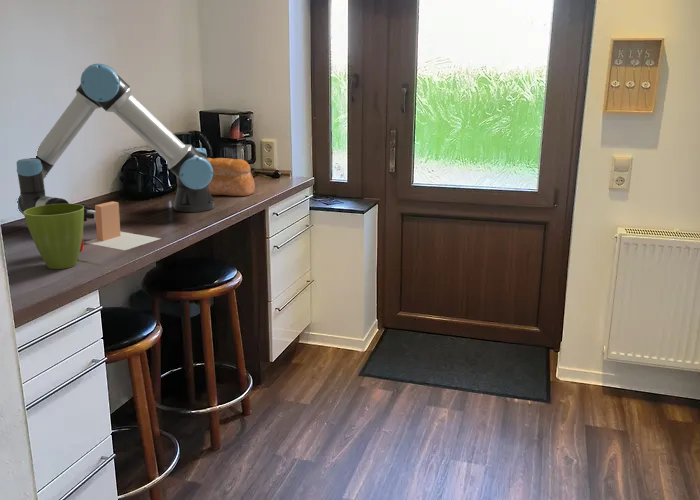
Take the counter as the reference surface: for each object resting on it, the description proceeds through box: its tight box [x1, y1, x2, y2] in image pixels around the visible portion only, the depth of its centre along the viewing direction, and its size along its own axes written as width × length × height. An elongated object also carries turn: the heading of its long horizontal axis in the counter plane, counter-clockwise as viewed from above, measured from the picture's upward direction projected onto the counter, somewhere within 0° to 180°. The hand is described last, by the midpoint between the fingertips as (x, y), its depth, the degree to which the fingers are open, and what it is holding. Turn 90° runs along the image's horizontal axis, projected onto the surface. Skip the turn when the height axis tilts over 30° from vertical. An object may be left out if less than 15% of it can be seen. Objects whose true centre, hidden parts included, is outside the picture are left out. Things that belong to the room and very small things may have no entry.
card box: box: [94, 201, 121, 241], centre depth 201 cm, size 7×3×11 cm, turn 151°
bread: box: [207, 157, 256, 197], centre depth 274 cm, size 14×26×15 cm, turn 77°
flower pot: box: [23, 203, 85, 270], centre depth 175 cm, size 15×15×16 cm
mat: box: [83, 231, 162, 251], centre depth 201 cm, size 15×18×1 cm
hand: (103, 216), depth 202 cm, fingers closed
